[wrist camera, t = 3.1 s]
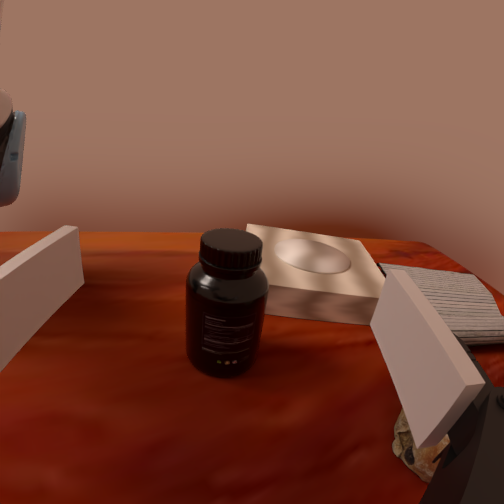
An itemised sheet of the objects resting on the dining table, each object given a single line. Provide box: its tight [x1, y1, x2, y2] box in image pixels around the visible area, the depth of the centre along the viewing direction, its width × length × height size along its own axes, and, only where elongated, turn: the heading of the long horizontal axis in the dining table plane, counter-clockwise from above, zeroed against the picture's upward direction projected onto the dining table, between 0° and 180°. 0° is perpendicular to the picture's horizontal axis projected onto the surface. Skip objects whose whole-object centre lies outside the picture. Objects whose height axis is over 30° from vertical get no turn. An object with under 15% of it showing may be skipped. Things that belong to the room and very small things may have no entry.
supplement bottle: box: [186, 228, 269, 377], centre depth 26 cm, size 7×7×12 cm
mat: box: [377, 263, 504, 347], centre depth 40 cm, size 23×24×5 cm
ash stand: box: [246, 224, 385, 325], centre depth 44 cm, size 20×20×4 cm
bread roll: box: [392, 408, 450, 483], centre depth 18 cm, size 10×10×8 cm
